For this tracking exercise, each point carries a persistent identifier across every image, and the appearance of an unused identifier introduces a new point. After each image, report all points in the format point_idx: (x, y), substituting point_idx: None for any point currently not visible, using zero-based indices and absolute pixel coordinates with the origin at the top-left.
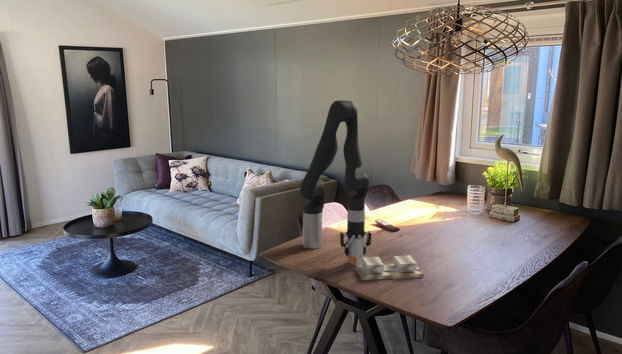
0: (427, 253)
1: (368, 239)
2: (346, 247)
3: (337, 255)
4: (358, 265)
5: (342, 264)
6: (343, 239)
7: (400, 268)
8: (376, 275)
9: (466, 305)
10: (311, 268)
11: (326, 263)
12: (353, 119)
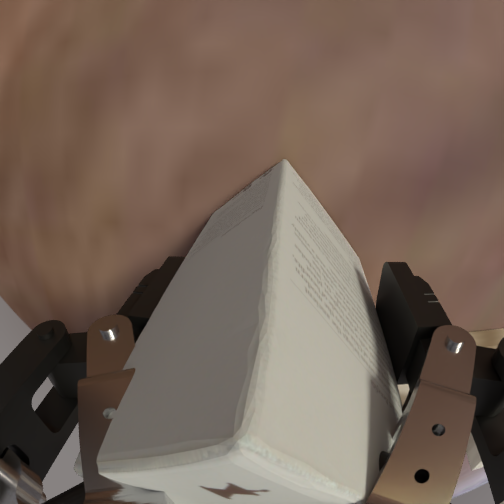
0: None
1: (491, 481)
2: None
3: (144, 29)
4: None
5: (171, 254)
6: (46, 466)
7: (467, 451)
8: None
9: (464, 489)
10: (14, 286)
11: (60, 222)
12: None
